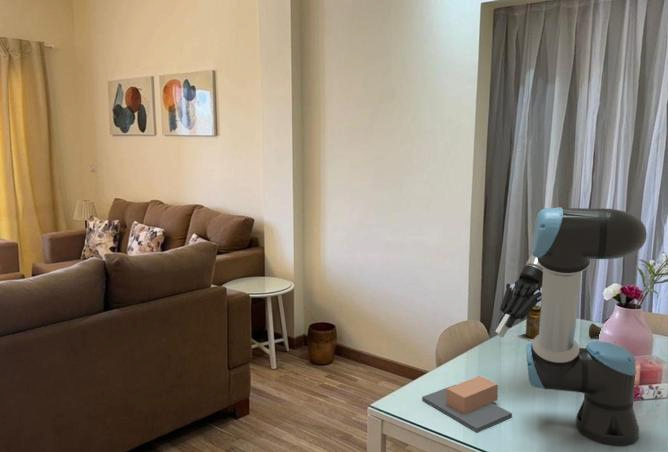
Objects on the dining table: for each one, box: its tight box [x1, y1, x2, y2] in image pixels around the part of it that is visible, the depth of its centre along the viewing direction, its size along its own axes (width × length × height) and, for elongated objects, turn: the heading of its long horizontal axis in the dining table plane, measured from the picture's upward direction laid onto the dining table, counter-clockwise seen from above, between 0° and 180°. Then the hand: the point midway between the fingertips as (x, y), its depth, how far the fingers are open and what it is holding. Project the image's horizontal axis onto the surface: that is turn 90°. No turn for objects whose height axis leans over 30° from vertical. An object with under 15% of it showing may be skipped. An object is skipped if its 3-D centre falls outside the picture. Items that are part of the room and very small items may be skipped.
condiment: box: [518, 305, 541, 343], centre depth 212 cm, size 7×8×12 cm
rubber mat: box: [421, 384, 513, 433], centre depth 160 cm, size 22×14×1 cm, turn 32°
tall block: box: [446, 375, 499, 414], centre depth 161 cm, size 7×5×14 cm
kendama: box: [588, 317, 610, 339], centre depth 212 cm, size 6×10×20 cm
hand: (499, 334), depth 164 cm, fingers closed
